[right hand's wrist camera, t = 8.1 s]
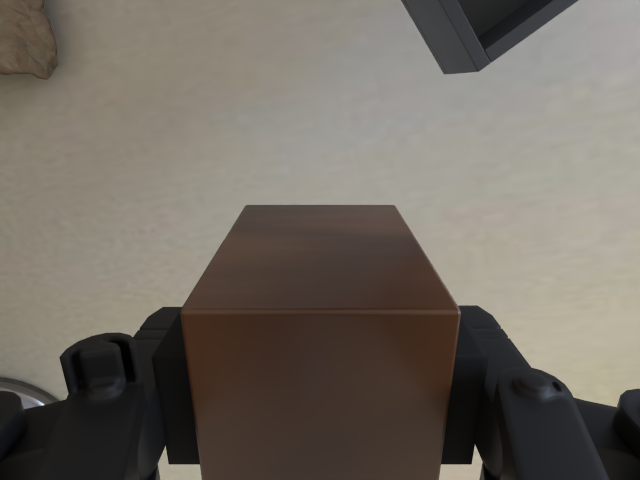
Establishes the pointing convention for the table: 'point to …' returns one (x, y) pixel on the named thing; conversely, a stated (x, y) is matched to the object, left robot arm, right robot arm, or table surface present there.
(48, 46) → the stone
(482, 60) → the grey box
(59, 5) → the table surface
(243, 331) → the walnut block
